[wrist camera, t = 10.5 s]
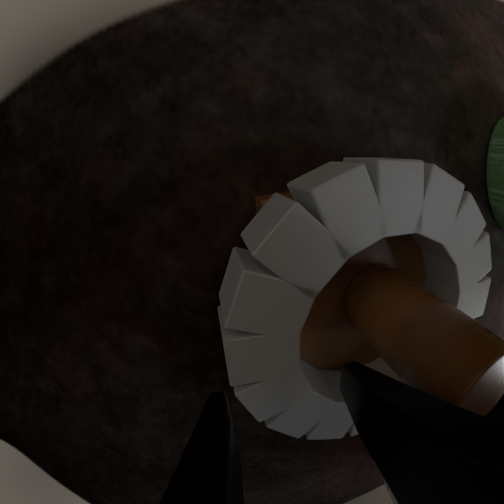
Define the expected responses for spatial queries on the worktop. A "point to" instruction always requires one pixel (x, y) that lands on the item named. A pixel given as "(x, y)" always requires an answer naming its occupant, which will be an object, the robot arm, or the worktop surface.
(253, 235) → the segmented block ring
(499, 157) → the ramekin
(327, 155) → the worktop surface
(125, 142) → the worktop surface
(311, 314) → the wooden peg stand
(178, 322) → the worktop surface
